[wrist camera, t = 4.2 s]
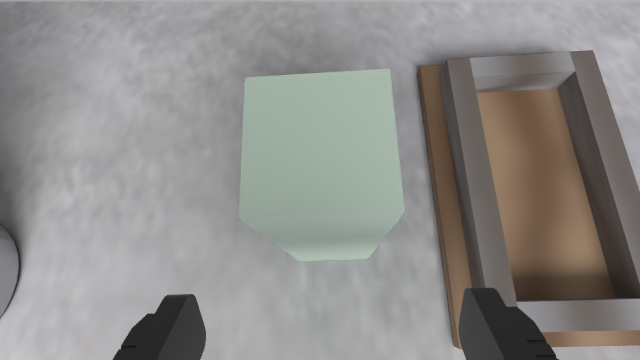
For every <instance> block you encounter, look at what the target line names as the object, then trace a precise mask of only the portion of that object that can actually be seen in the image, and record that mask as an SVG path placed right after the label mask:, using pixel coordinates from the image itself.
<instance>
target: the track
mask: <svg viewBox="0 0 640 360" xmlns="http://www.w3.org/2000/svg"><path fill="white" fill-rule="evenodd" d="M417 75H418V83H419V90H420V98H421V105H422V112H423V120H424V127H425V135H426V142H427V150H428V157H429V164H430V172H431V179H432V187H433V194H434V201H435V209H436V216H437V224H438V231H439V239H440V246H441V253H442V261H443V268H444V276H445V283H446V291H447V298H448V305H449V313H450V320H451V328H452V335H453V342H454V346H455V347H457V348H459V349H462V346H461V343H460V338H459V331H458V325H459V319H460V313H461V307H462V301H463V295H464V291H465V289H466V288H495V289H496V290H497V291H498V293H499V294H500V296H501V298H502V300H503V301H504V303H505V305H506V306H507V307H515V306H517V307H518V308H519V309H520V310H522V311H523V312H524V313H525V314H526V315H527V316H529V317H530V318H531V319H532V320H533V321H534V322H535V323H536V325H537V326H538V328H539V330H540V331H541V333H542V334H543V336H544V337H545V339H546V342H547V343H548V344H549V345H550V347H577V346H627V345H640V192H639V189H638V186H637V183H636V180H635V177H634V173H633V170H632V167H631V164H630V161H629V158H628V155H627V152H626V149H625V146H624V143H623V140H622V137H621V134H620V131H619V128H618V125H617V122H616V119H615V116H614V113H613V110H612V107H611V103H610V100H609V97H608V94H607V91H606V88H605V85H604V82H603V79H602V76H601V73H600V70H599V67H598V64H597V61H596V58H595V55H594V52H593V50H588V51H572V52H556V53H540V54H524V55H508V56H492V57H475V58H459V59H447V60H446V63H445V65H433V66H420V68H419V71H418V74H417Z"/></svg>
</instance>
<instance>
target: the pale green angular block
mask: <svg viewBox="0 0 640 360" xmlns="http://www.w3.org/2000/svg"><path fill="white" fill-rule="evenodd" d="M404 213H405V206H404V197H403V187H402V178H401V168H400V159H399V150H398V140H397V131H396V121H395V112H394V103H393V93H392V84H391V74H390V68H389V69H373V70H356V71H340V72H324V73H307V74H291V75H275V76H258V77H245V85H244V106H243V127H242V148H241V170H240V191H239V212H238V219H239V220H240V221H242V222H243V223H244V224H246V225H247V226H249V227H250V228H252V229H253V230H255V231H256V232H257V233H259V234H260V235H262V236H263V237H265V238H266V239H268V240H269V241H271V242H272V243H273V244H275V245H276V246H278V247H279V248H281V249H282V250H284V251H285V252H286V253H288V254H289V255H291V256H292V257H294V258H295V259H297V260H298V261H327V260H357V259H368V258H369V257H370V256H371V255H372V253H373V252H374V251H375V250H376V248H377V247H378V246H379V245H380V243H381V242H382V241H383V240H384V238H385V237H386V236H387V235H388V233H389V232H390V231H391V230H392V228H393V227H394V226H395V225H396V223H397V222H398V221H399V220H400V218H401V217H402V216H403V215H404Z"/></svg>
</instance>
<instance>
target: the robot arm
mask: <svg viewBox="0 0 640 360" xmlns="http://www.w3.org/2000/svg"><path fill="white" fill-rule="evenodd" d="M18 269H19V264H18V253H17V250H16V246H15V243H14V241H13V239H12V238H11V236H10V235H9V233H8V232H7V231H6V230H5V229H4V228H3V227H2V226H0V316H1V315H2V314H3V312H4V311H5V309H6V307H7V305H8V303H9V301H10V299H11V297H12V295H13V292H14V289H15V286H16V283H17V276H18ZM458 331H459V338H460V343H461V346H462V349H463V352H464V354H465V357H466V360H559V359H557V358H556V354H555V353H554V351H553V350H552V348H551V347H550V345H549V344H548V343H547V342H546V339H545V337H544V336H543V334H542V333H541V331H540V330H539V328H538V326H537V325H536V323H535V322H534V321H533V320H532V319H531V318H530V317H529V316H527V315H526V314H525V313H524V312H523V311H522V310H520V309H519V308H518V307H517V306H515V307H507V306H506V305H505V303H504V301H503V300H502V298H501V296H500V294H499V293H498V291H497V290H496V289H495V288H466V289H465V291H464V295H463V301H462V307H461V313H460V319H459V325H458ZM205 341H206V330H205V326H204V323H203V319H202V316H201V313H200V310H199V306H198V303H197V300H196V297H195V296H194V295H193V294H183V295H167V296H165V297H164V299H163V300H162V302H161V304H160V305H159V307H158V309H157V311H156V313H155V314H147V315H146V316H145V317H144V318H143V319H141V320H140V321H139V322H138V323H137V324H136V325H135V326H134V327H133V328H132V329H131V331H130V332H129V334H128V336H127V337H126V339H125V340H124V342H123V344H122V345H121V349H119V350H118V352H117V353H116V355H115V357H114V358H113V360H200V359H201V356H202V353H203V350H204V347H205Z"/></svg>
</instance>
